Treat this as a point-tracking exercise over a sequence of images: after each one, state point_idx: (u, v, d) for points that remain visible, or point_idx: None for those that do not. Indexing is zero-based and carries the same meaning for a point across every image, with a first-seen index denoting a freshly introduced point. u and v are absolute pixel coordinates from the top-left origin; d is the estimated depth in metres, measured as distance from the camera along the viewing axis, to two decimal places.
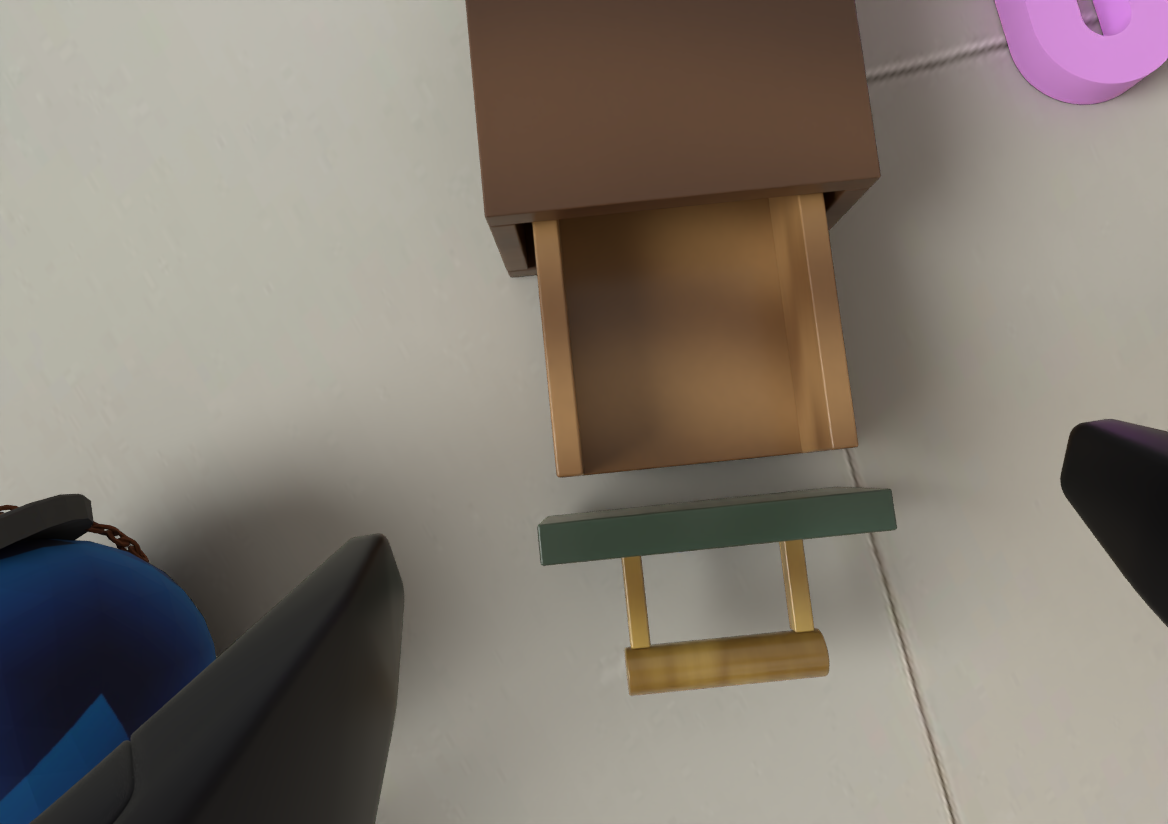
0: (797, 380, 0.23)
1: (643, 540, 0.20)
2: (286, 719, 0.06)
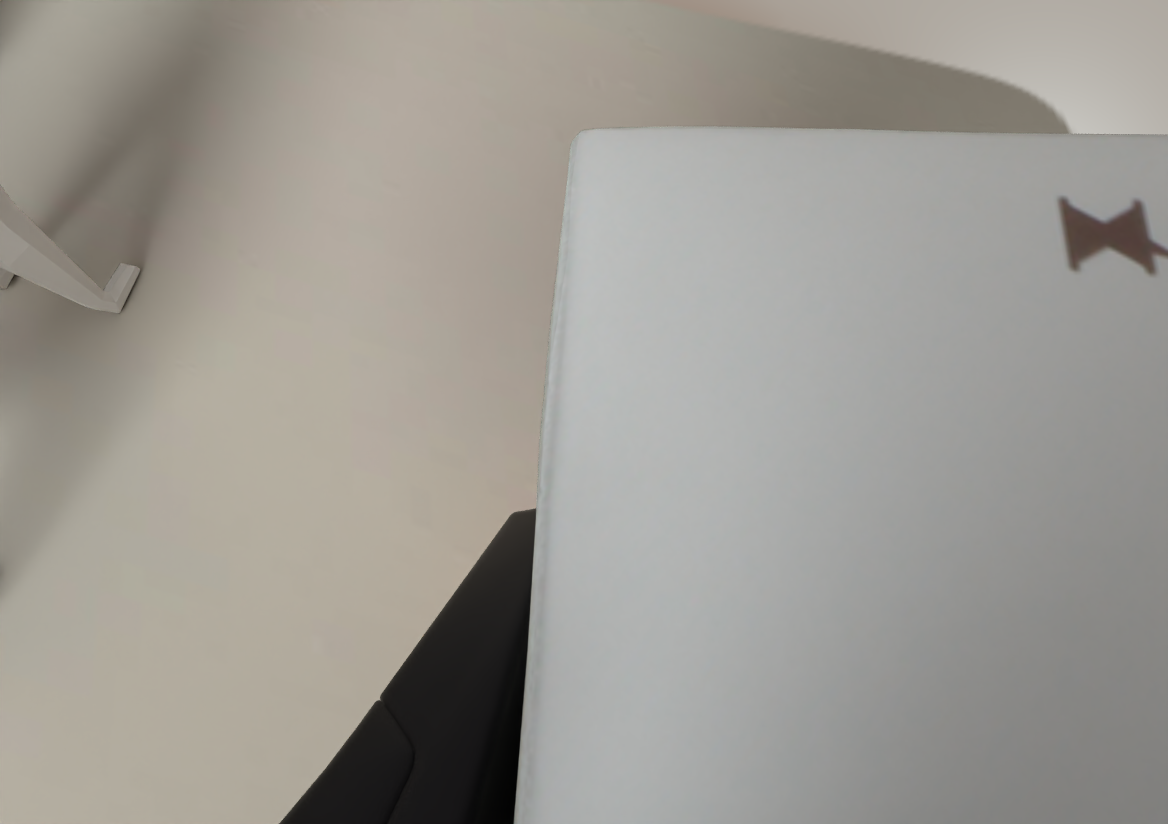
0: None
1: None
2: (522, 681, 0.06)
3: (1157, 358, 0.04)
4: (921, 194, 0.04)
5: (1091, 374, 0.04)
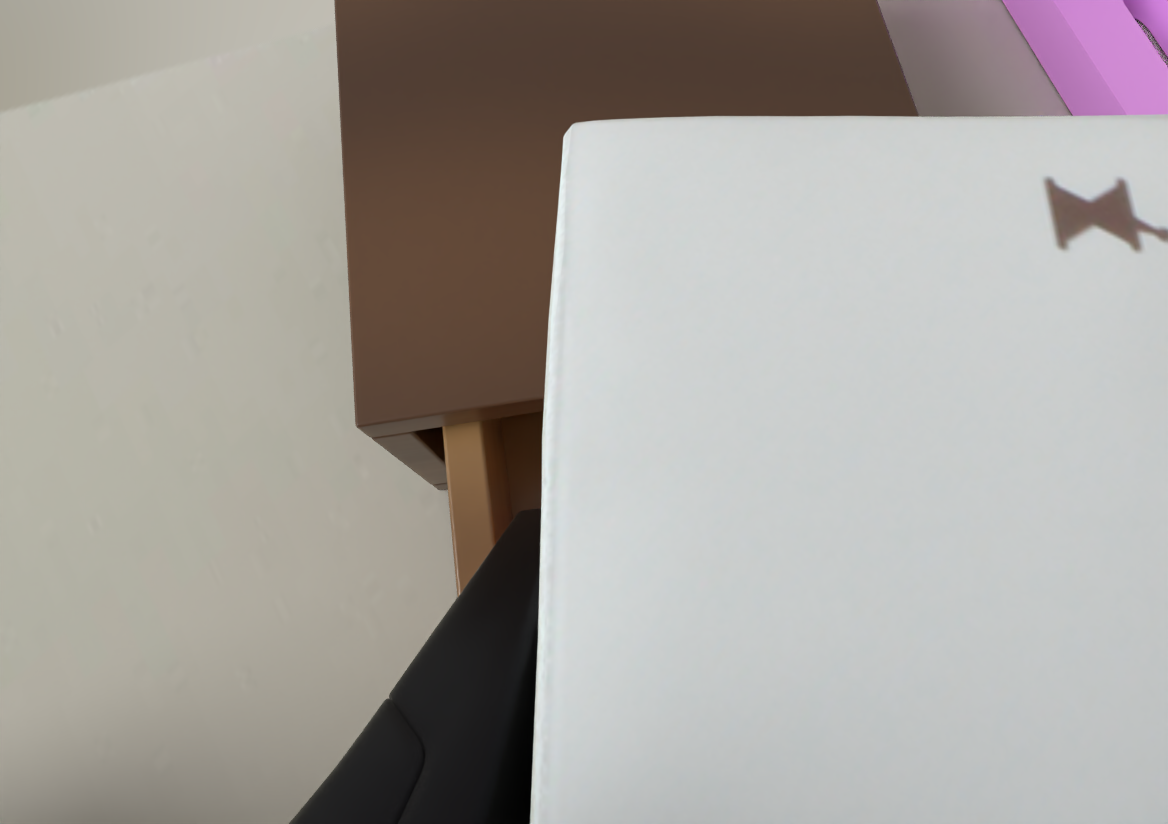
0: None
1: None
2: (531, 680, 0.06)
3: (1146, 332, 0.04)
4: (911, 178, 0.04)
5: (1083, 349, 0.04)
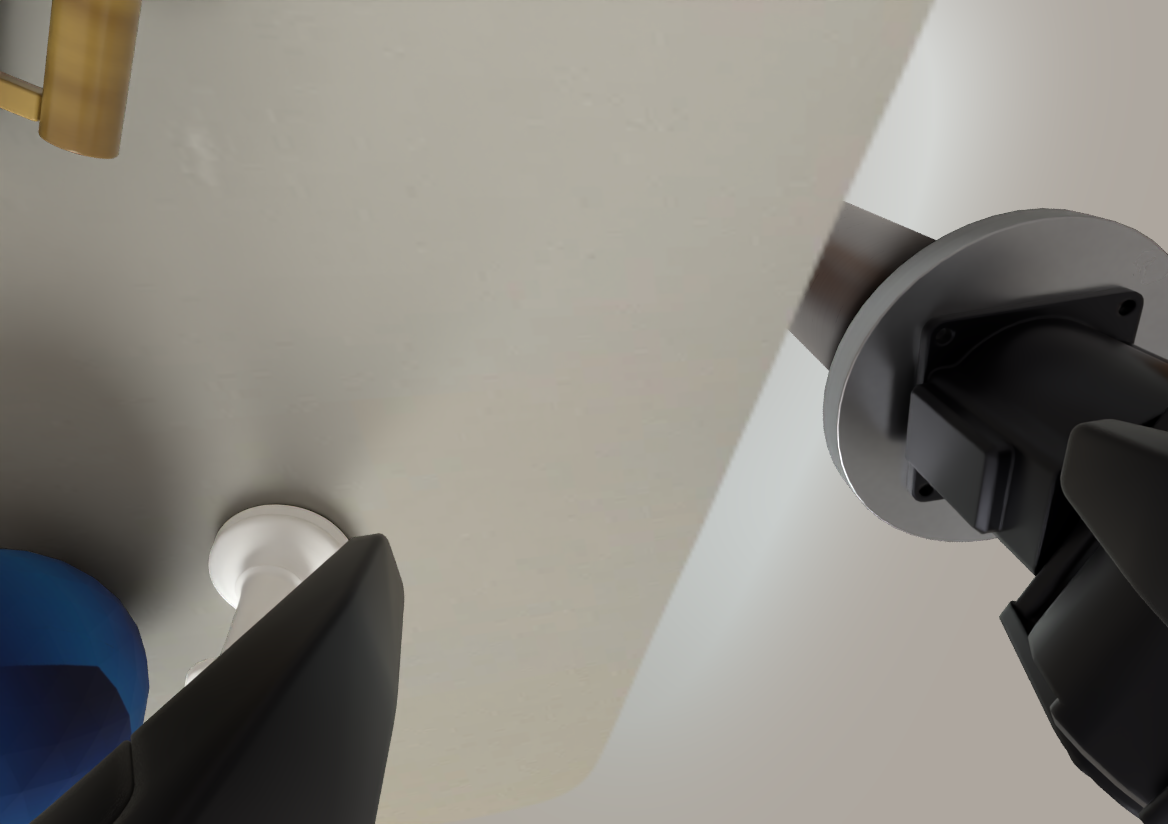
0: None
1: None
2: (286, 719, 0.06)
3: None
4: None
5: None
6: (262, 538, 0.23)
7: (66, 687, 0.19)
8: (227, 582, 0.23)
